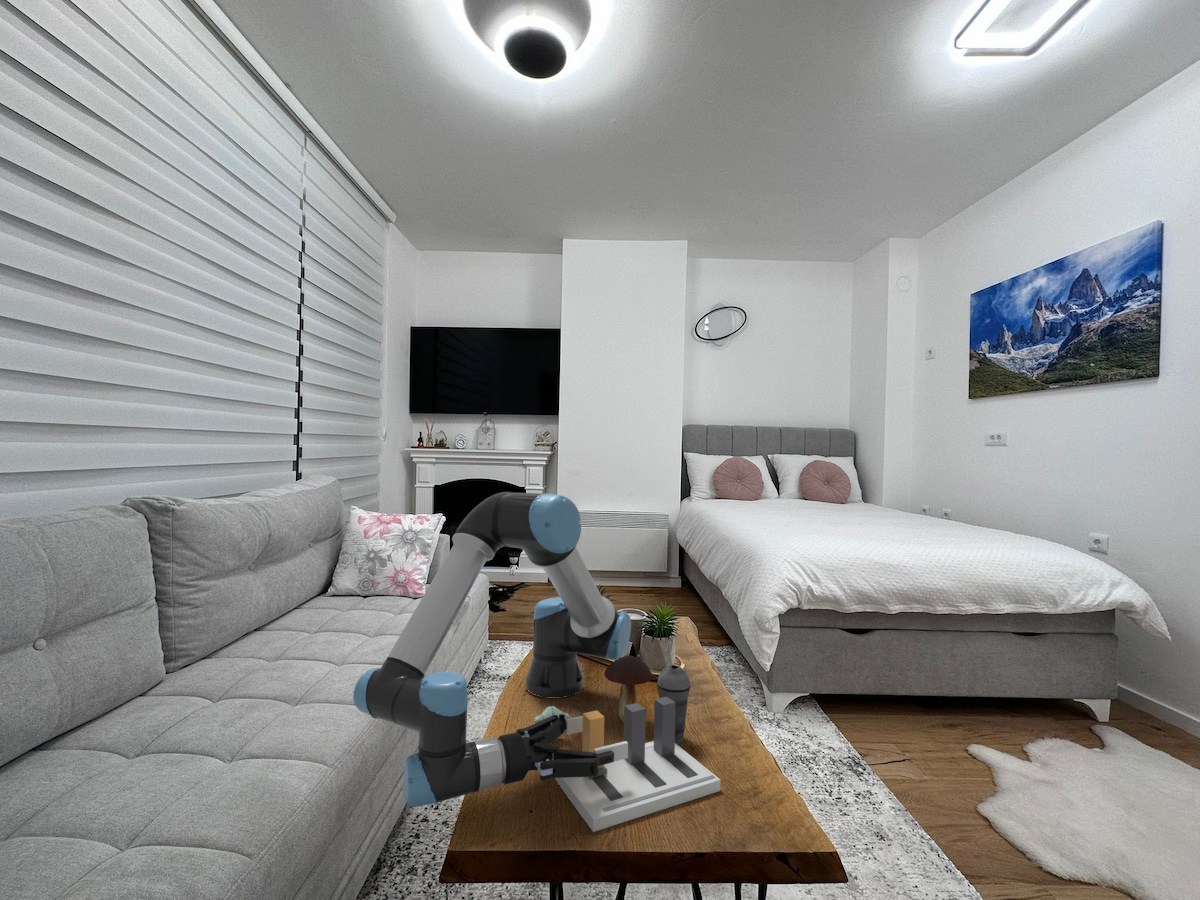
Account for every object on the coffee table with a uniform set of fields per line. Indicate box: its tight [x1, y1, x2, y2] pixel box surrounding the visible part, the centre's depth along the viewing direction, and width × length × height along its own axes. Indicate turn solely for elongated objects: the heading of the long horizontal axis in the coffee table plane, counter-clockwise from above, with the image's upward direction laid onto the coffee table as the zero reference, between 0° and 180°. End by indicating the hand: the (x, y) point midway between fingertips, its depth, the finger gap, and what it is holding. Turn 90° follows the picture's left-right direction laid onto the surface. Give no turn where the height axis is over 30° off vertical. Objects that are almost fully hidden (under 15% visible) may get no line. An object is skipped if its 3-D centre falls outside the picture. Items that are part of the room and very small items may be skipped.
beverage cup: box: [656, 644, 691, 745], centre depth 118 cm, size 7×7×20 cm
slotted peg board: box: [554, 697, 722, 833], centre depth 101 cm, size 17×26×12 cm, turn 117°
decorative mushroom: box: [604, 655, 653, 722], centre depth 126 cm, size 11×11×15 cm
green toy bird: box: [534, 705, 572, 725], centre depth 117 cm, size 8×4×7 cm, turn 106°
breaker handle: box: [581, 710, 607, 779], centre depth 101 cm, size 5×4×10 cm
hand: (611, 734), depth 103 cm, fingers open, 11 cm apart
